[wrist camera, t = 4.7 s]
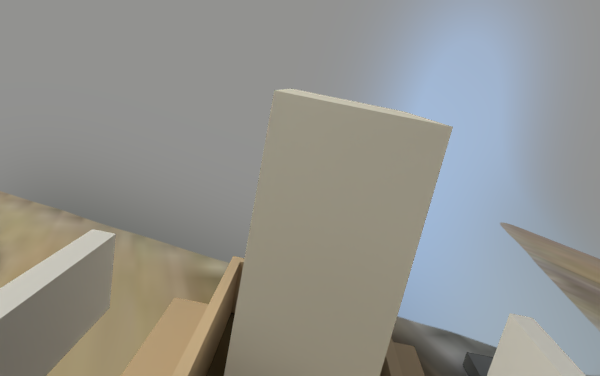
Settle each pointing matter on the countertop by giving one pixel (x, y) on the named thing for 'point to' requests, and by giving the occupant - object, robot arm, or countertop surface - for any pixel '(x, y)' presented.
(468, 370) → the board
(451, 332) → the countertop surface
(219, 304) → the carton
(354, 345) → the box
